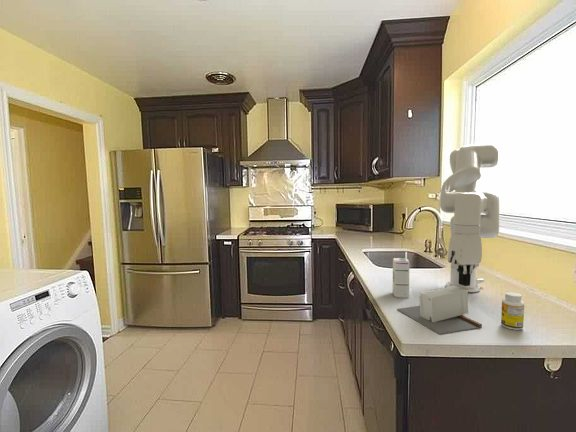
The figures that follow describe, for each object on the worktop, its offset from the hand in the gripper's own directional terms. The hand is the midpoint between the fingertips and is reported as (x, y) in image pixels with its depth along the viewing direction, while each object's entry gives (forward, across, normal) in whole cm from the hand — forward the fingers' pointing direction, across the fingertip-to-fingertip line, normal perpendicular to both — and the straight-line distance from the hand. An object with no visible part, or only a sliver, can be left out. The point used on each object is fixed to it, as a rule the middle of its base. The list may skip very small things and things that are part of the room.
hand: (464, 284), depth 105 cm
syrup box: (+10, +8, -23) cm, 26 cm away
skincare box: (+5, +1, 0) cm, 5 cm away
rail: (+10, +4, 0) cm, 11 cm away
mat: (+10, +12, 0) cm, 15 cm away
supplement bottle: (+10, -6, +12) cm, 17 cm away
